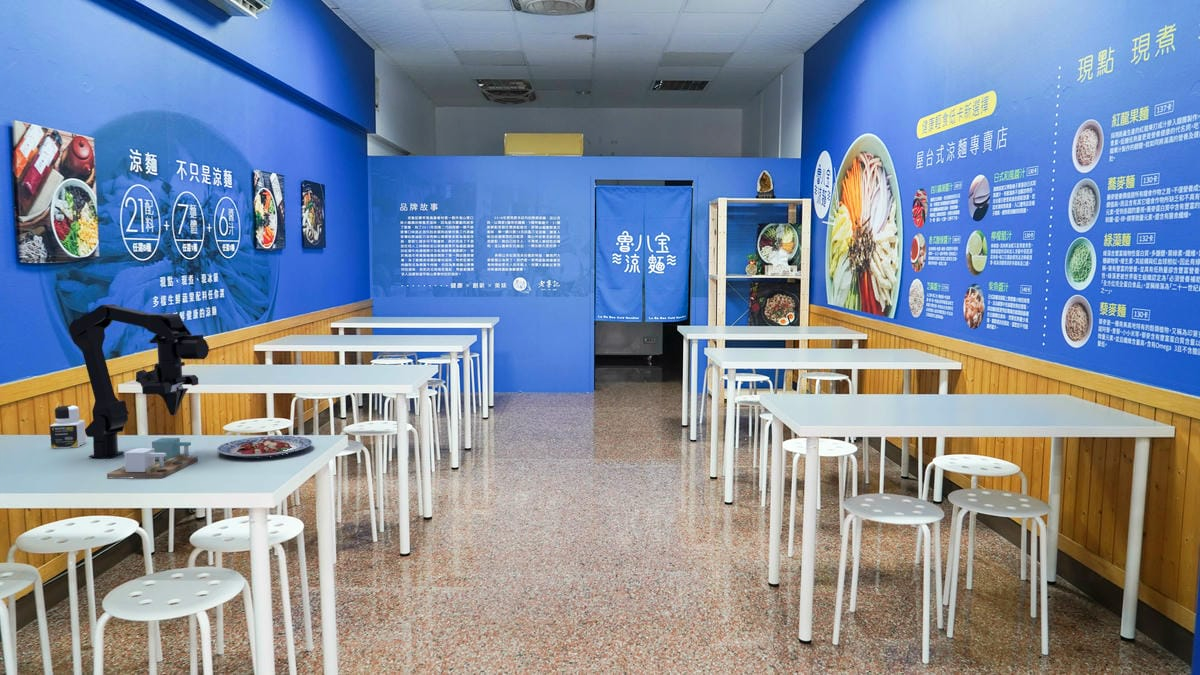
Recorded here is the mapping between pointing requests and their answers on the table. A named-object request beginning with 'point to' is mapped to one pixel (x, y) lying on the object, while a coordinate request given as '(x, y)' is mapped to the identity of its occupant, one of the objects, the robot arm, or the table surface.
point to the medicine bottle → (67, 428)
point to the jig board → (157, 468)
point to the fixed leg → (142, 459)
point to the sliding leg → (170, 447)
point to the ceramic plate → (263, 446)
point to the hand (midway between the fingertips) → (173, 415)
